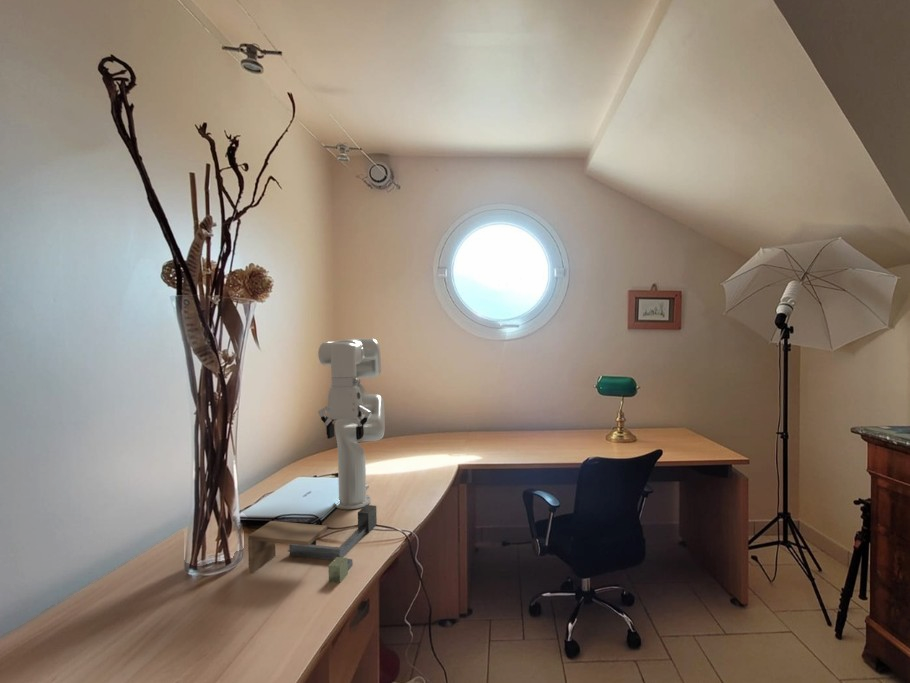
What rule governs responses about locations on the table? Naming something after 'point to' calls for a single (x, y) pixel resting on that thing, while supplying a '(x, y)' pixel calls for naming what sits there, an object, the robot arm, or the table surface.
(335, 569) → the pale green block
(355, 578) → the table surface
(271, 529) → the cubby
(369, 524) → the grey angular bent frame
